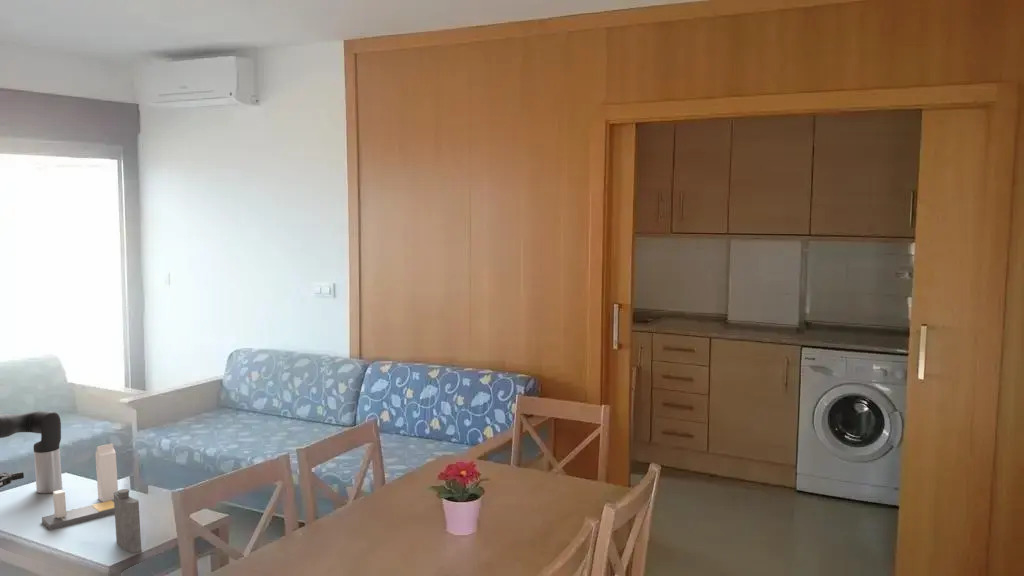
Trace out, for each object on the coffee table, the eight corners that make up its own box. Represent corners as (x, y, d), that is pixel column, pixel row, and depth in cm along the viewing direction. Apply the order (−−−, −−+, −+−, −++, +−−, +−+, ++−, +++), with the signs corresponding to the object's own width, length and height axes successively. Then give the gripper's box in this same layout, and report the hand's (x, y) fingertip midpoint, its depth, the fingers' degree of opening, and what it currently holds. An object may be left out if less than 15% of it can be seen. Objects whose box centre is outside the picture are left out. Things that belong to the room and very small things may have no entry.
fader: (54, 515, 299) (52, 491, 298) (63, 513, 301) (61, 489, 300) (57, 518, 297) (55, 493, 296) (66, 515, 299) (64, 491, 298)
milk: (118, 498, 324) (115, 445, 321) (102, 502, 319) (99, 448, 317) (113, 494, 328) (110, 441, 326) (97, 498, 324) (94, 444, 322)
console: (42, 522, 299) (41, 516, 299) (116, 504, 317) (115, 498, 317) (49, 530, 292) (49, 524, 292) (125, 510, 310) (124, 505, 310)
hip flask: (143, 551, 274) (139, 494, 271) (130, 554, 271) (127, 497, 269) (124, 538, 284) (121, 483, 282) (112, 541, 281) (108, 486, 279)
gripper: (-31, 480, 272) (27, 468, 284) (-39, 471, 282) (17, 460, 294) (-30, 501, 273) (28, 489, 285) (-38, 492, 282) (19, 480, 294)
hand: (23, 474), depth 289 cm, fingers closed
